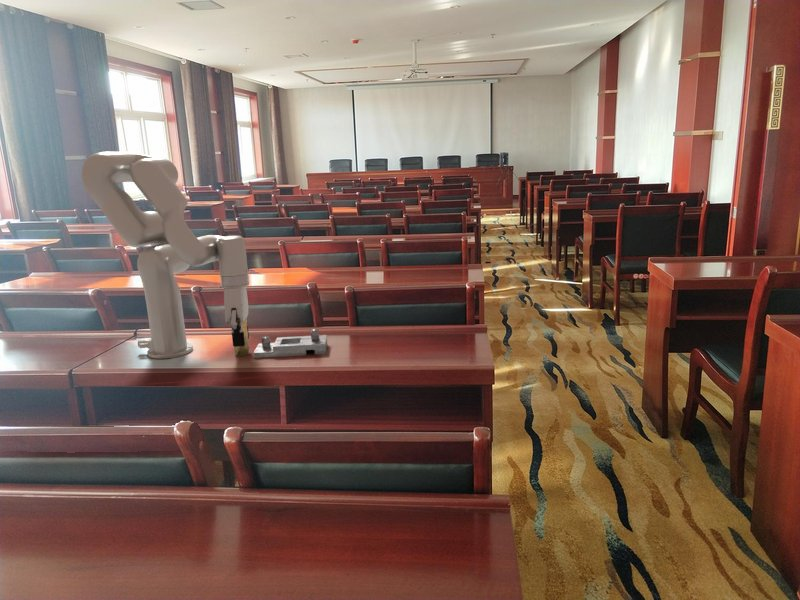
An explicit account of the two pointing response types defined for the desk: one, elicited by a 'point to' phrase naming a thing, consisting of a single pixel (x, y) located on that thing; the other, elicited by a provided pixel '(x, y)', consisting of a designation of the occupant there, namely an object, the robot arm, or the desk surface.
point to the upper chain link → (302, 343)
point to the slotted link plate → (267, 350)
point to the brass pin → (245, 349)
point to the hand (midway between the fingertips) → (241, 342)
